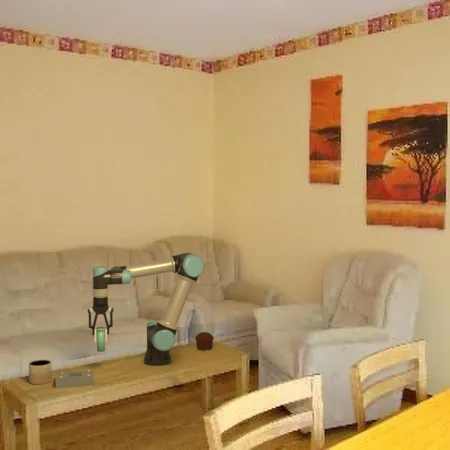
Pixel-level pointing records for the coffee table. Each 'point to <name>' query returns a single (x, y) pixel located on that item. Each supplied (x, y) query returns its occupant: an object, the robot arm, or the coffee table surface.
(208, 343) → the muffin
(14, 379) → the coffee table surface
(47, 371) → the planter
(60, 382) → the grey socket block
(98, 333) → the plug
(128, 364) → the coffee table surface
